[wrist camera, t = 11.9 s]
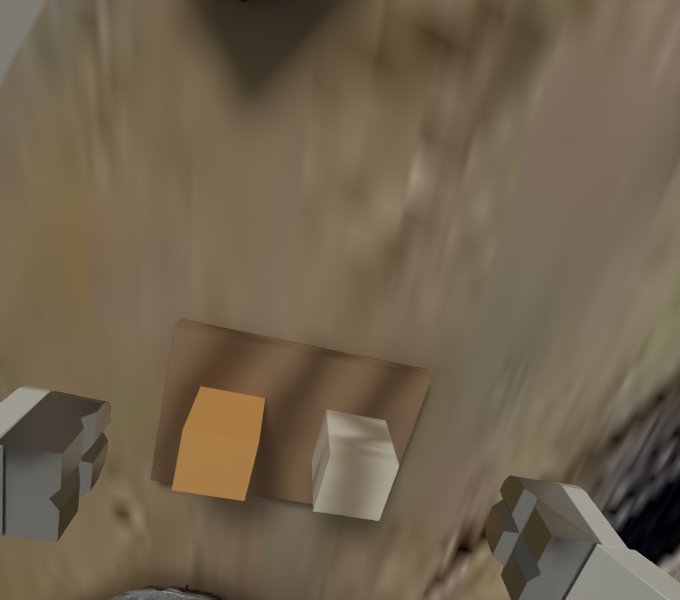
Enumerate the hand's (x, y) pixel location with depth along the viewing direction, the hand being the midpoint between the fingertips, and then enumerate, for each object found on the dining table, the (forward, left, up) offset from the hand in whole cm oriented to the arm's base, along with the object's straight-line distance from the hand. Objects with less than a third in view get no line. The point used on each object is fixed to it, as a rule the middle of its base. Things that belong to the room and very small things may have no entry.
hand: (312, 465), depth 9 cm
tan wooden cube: (+3, +16, -24) cm, 29 cm away
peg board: (-2, +16, -25) cm, 30 cm away
